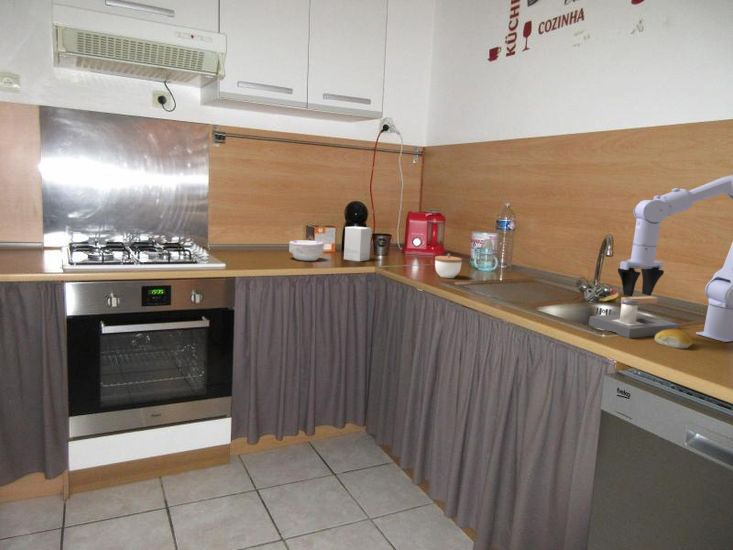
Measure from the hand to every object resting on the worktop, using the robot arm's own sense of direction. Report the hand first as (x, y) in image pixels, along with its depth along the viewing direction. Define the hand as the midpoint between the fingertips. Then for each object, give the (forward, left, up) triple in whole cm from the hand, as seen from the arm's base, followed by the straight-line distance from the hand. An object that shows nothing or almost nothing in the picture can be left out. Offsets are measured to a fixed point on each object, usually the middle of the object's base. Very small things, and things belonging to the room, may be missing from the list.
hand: (637, 295), depth 146 cm
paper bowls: (+47, -129, -10) cm, 138 cm away
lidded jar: (+4, -82, -10) cm, 83 cm away
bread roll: (-1, +11, -11) cm, 16 cm away
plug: (+2, 0, -7) cm, 8 cm away
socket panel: (-3, -2, -10) cm, 11 cm away
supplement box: (+23, -127, -10) cm, 129 cm away
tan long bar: (-10, -6, -4) cm, 12 cm away
